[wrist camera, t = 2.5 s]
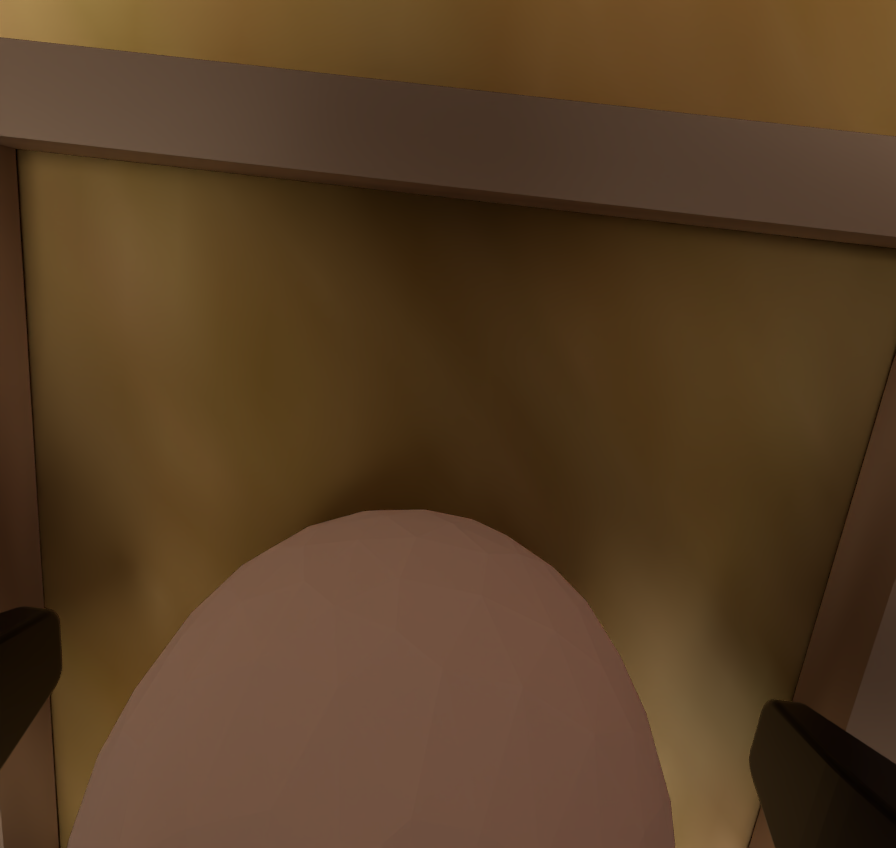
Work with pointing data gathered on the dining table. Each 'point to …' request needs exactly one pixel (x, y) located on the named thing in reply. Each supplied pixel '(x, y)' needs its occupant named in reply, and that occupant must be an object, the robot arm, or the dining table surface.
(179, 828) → the egg
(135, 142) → the walnut frame
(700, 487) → the dining table surface
